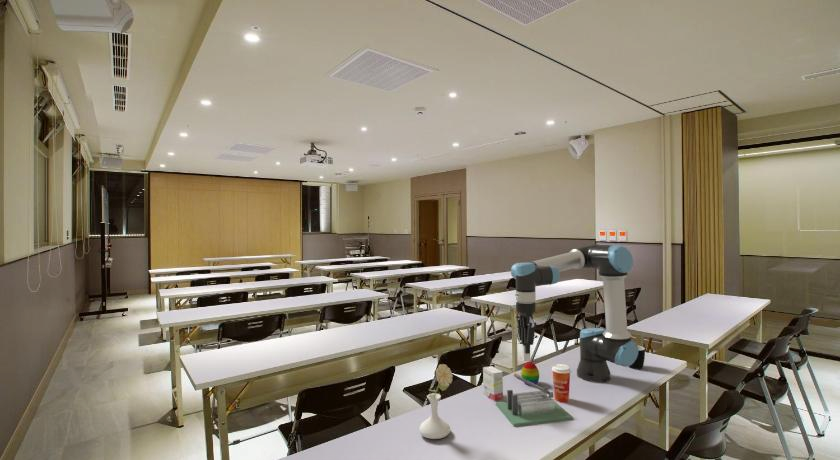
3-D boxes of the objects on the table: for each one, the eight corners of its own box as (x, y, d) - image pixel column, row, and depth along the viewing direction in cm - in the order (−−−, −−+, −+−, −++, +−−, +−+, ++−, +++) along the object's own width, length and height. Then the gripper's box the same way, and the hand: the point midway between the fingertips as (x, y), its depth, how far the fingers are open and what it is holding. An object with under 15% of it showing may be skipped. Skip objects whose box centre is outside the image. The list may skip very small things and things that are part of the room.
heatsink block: (544, 401, 165) (543, 384, 165) (556, 412, 155) (556, 395, 155) (510, 405, 162) (510, 388, 162) (521, 417, 152) (521, 399, 152)
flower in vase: (427, 445, 136) (425, 373, 136) (414, 430, 147) (412, 363, 146) (460, 436, 142) (458, 367, 141) (445, 422, 152) (444, 357, 152)
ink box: (503, 399, 171) (503, 371, 170) (494, 401, 169) (493, 373, 168) (492, 391, 178) (491, 365, 178) (483, 393, 176) (482, 367, 176)
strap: (546, 392, 162) (548, 389, 162) (550, 396, 158) (552, 392, 158) (513, 375, 159) (514, 372, 159) (516, 379, 156) (518, 375, 156)
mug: (648, 367, 202) (648, 348, 202) (639, 371, 197) (639, 351, 197) (625, 361, 212) (625, 342, 212) (616, 364, 207) (615, 345, 207)
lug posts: (512, 410, 160) (511, 389, 160) (517, 416, 155) (517, 395, 155) (507, 411, 160) (507, 390, 159) (512, 417, 154) (512, 395, 154)
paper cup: (549, 399, 169) (548, 367, 168) (556, 393, 174) (556, 362, 174) (567, 405, 163) (566, 371, 163) (574, 399, 169) (574, 366, 169)
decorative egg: (539, 387, 181) (538, 365, 181) (520, 385, 184) (520, 364, 184) (539, 380, 189) (539, 359, 189) (522, 378, 192) (521, 358, 191)
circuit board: (548, 398, 170) (548, 396, 170) (572, 419, 152) (572, 416, 152) (495, 404, 165) (495, 402, 165) (513, 426, 148) (513, 423, 148)
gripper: (510, 299, 163) (510, 356, 164) (524, 305, 150) (524, 367, 151) (527, 298, 165) (527, 354, 165) (542, 304, 152) (543, 365, 152)
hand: (526, 360), depth 158 cm, fingers closed
